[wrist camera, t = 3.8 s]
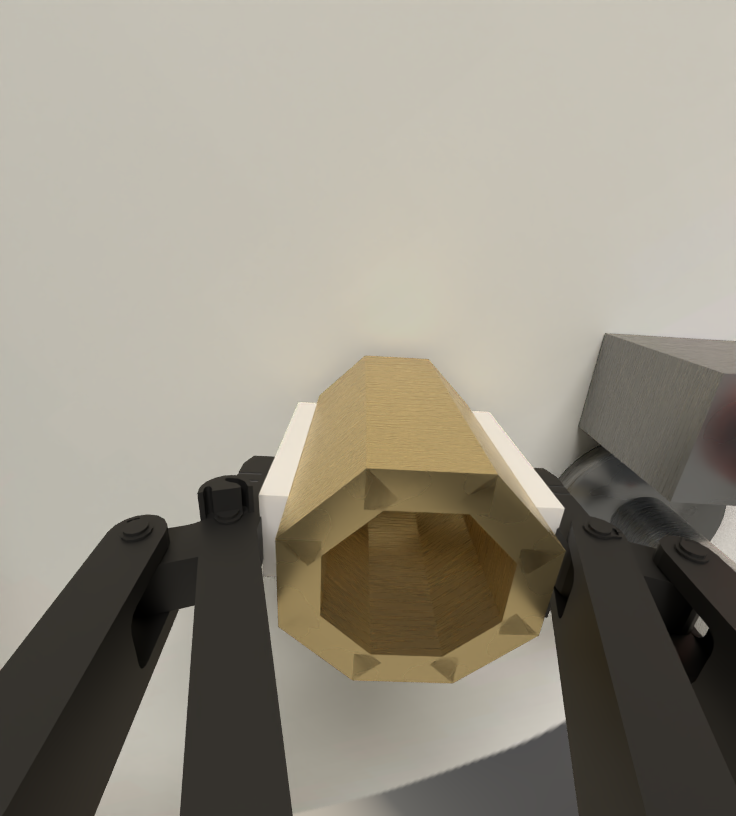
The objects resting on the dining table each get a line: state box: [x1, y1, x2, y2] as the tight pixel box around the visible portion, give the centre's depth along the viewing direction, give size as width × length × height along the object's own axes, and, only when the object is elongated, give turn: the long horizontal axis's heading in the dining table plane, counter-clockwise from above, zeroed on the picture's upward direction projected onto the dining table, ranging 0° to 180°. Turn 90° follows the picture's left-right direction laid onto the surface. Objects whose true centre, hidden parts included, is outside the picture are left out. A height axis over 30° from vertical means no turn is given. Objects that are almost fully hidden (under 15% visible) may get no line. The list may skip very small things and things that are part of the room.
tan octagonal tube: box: [275, 356, 566, 683], centre depth 13 cm, size 6×6×9 cm
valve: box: [559, 333, 736, 637], centre depth 15 cm, size 8×13×8 cm, turn 177°
